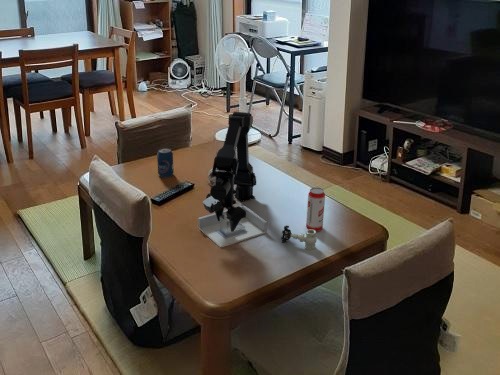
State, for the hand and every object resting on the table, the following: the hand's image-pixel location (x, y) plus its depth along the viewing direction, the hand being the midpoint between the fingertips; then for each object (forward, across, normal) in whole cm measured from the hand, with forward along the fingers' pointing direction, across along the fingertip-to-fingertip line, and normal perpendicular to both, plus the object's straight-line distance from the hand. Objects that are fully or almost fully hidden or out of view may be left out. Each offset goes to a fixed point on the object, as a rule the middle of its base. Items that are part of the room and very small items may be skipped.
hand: (225, 226), depth 211 cm
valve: (+4, +20, +18) cm, 28 cm away
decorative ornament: (+4, -39, +19) cm, 44 cm away
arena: (+4, -1, +4) cm, 5 cm away
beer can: (+4, +14, +30) cm, 34 cm away
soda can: (+4, -59, +4) cm, 59 cm away
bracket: (+3, 0, +3) cm, 4 cm away
